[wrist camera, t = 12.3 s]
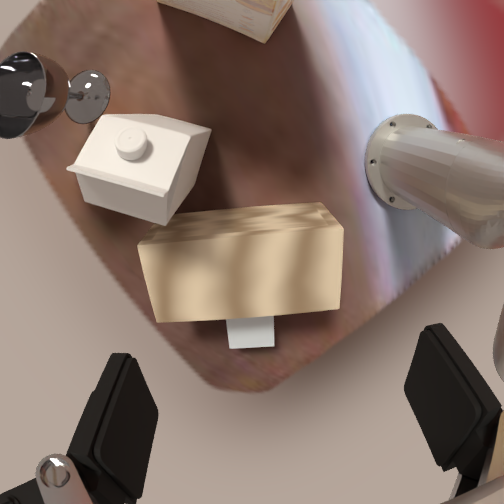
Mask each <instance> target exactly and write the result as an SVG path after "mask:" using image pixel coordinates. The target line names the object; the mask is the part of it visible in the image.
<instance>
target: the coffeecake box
mask: <svg viewBox="0 0 504 504" xmlns="http://www.w3.org/2000/svg"><path fill="white" fill-rule="evenodd" d="M156 1H157V2H159V3H162V4H166V5H169V6H172V7H175V8H178V9H180V10H183V11H186V12H189V13H192V14H195V15H198V16H200V17H203V18H206V19H208V20H211V21H213V22H216V23H218V24H221V25H223V26H226V27H228V28H230V29H233V30H235V31H237V32H240V33H242V34H244V35H246V36H249V37H251V38H253V39H255V40H257V41H259V42H262V43H264V44H265V43H266V42H267V40H268V39H269V38H270V36H271V35H272V33H273V32H274V30H275V29H276V27H277V26H278V24H279V23H280V21H281V20H282V18H283V17H284V15H285V14H286V12H287V11H288V9H289V8H290V6H291V4H292V2H293V0H156Z"/></svg>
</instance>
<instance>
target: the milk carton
mask: <svg viewBox="0 0 504 504" xmlns="http://www.w3.org/2000/svg"><path fill="white" fill-rule="evenodd" d="M211 131H212V130H211V129H209V128H206V127H203V126H199V125H196V124H192V123H188V122H185V121H181V120H177V119H173V118H169V117H165V116H161V115H157V114H107V115H102V116H101V118H100V119H99V121H98V123H97V124H96V126H95V128H94V129H93V131H92V133H91V134H90V136H89V138H88V140H87V141H86V143H85V145H84V147H83V149H82V150H81V152H80V154H79V156H78V158H77V160H76V162H75V164H74V165H71V166H68V167H67V170H69V171H72V172H76V176H77V179H78V182H79V185H80V188H81V191H82V194H83V197H84V200H85V202H88V203H91V204H94V205H97V206H101V207H104V208H107V209H110V210H114V211H117V212H120V213H124V214H127V215H130V216H134V217H137V218H140V219H143V220H147V221H150V222H153V223H157V224H160V225H164V226H166V225H167V223H168V222H169V220H170V219H171V217H172V216H173V215H174V213H175V212H176V210H177V209H178V207H179V206H180V205H181V203H182V202H183V200H184V199H185V198H186V196H187V195H188V193H189V192H190V191H191V189H192V188H193V186H194V185H195V182H196V178H197V175H198V172H199V168H200V165H201V162H202V159H203V155H204V152H205V149H206V146H207V143H208V140H209V137H210V134H211Z"/></svg>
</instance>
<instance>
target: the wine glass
mask: <svg viewBox="0 0 504 504" xmlns="http://www.w3.org/2000/svg"><path fill="white" fill-rule="evenodd" d="M109 98H110V86H109V83H108V81H107V79H106V77H105V76H104V75H103V74H102V73H100V72H98V71H95V70H86V71H82V72H80V73H78V74H77V75H76V76H74V77H73V78H72V79H71V80H70V82H69V78H68V75H67V73H66V72H65V70H64V69H63V68H62V67H61V66H60V65H59V64H58V63H57V62H55V61H53V60H52V59H50V58H48V57H46V56H43V55H40V54H36V53H31V52H17V53H14V54H12V55H10V56H8V57H7V58H5V59H4V60H3V61H2V62H1V63H0V138H5V139H11V138H17V137H22V136H26V135H29V134H32V133H35V132H37V131H39V130H41V129H43V128H45V127H47V126H48V125H50V124H51V123H53V122H54V121H55V120H56V119H57V118H58V117H59V116H60V115H61V113H62V112H63V111H64V110H65V112H66V114H67V116H68V117H69V118H70V119H71V120H73V121H74V122H77V123H81V124H83V123H89V122H92V121H94V120H95V119H97V118H98V117H99V116H100V115H101V114H102V113H103V112H104V110H105V109H106V107H107V105H108V102H109Z"/></svg>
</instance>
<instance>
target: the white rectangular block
mask: <svg viewBox="0 0 504 504" xmlns="http://www.w3.org/2000/svg"><path fill="white" fill-rule="evenodd" d="M226 323H227V331H228V339H229V347H230V348H253V347H270V346H274V316H263V317H250V318H236V319H226Z"/></svg>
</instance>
